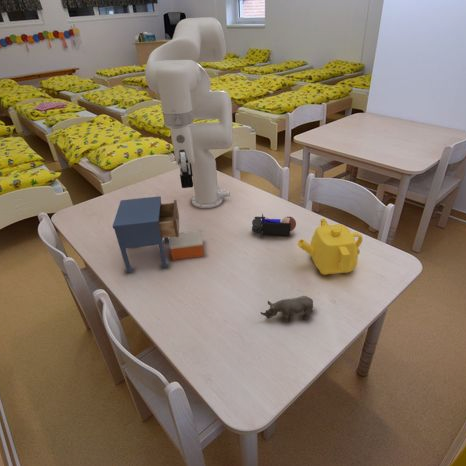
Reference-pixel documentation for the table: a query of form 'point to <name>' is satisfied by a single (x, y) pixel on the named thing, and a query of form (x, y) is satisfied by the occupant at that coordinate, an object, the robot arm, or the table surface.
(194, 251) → the storage box
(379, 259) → the table surface
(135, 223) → the drawer unit
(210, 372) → the table surface
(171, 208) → the drawer
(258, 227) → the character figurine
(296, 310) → the rhino figurine
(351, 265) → the teapot
